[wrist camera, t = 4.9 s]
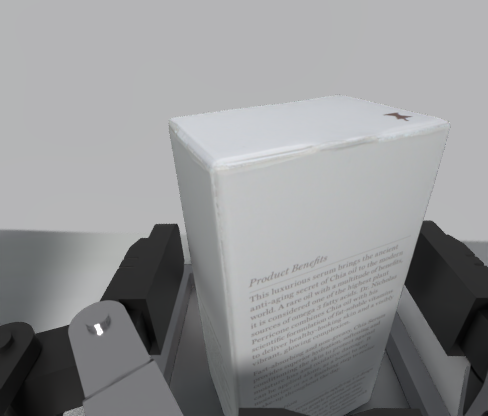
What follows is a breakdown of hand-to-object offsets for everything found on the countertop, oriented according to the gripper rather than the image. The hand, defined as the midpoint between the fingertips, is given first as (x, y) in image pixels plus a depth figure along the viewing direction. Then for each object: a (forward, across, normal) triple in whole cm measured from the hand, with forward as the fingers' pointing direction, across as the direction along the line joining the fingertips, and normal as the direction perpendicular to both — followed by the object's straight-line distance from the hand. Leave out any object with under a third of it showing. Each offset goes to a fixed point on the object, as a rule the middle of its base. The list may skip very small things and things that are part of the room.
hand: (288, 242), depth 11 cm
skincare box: (-1, 0, +7) cm, 7 cm away
